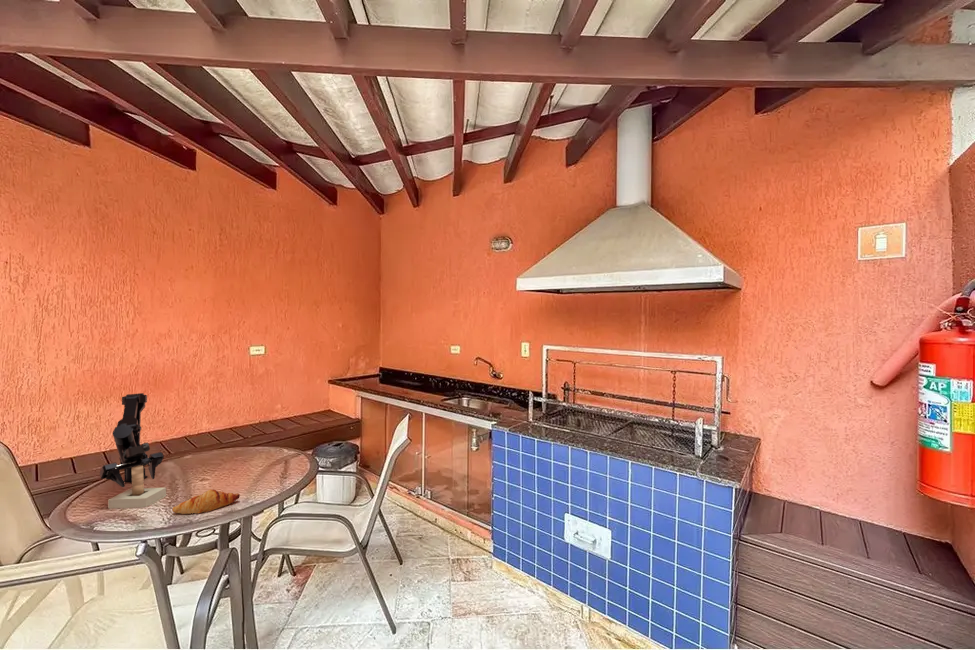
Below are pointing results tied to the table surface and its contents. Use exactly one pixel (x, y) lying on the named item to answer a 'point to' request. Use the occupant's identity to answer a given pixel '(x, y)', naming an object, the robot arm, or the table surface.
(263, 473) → the table surface
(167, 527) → the table surface
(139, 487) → the peg
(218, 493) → the croissant
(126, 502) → the socket block
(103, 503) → the table surface
